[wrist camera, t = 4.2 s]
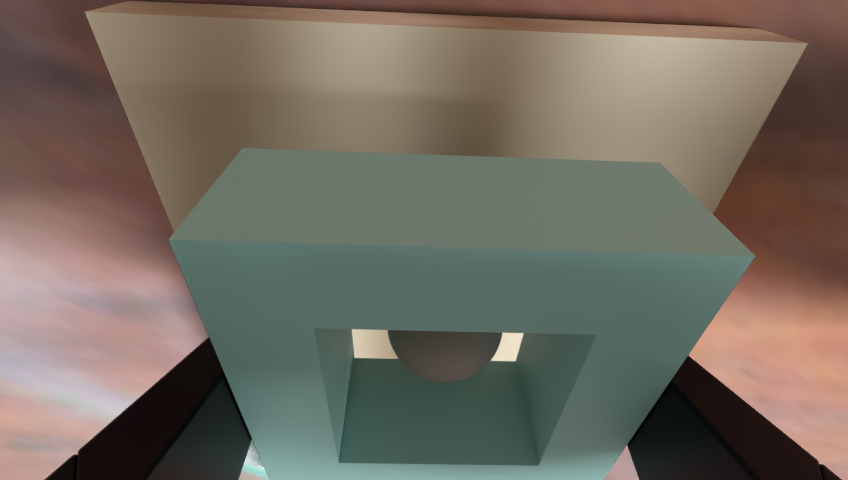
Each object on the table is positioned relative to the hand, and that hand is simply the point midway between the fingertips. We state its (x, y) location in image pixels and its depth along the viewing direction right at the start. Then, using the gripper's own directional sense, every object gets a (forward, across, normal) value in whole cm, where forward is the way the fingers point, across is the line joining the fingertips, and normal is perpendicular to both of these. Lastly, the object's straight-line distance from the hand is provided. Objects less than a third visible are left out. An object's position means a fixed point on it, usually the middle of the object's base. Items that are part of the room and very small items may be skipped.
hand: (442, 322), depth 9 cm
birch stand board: (+4, 0, +6) cm, 8 cm away
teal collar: (0, 0, 0) cm, 0 cm away
